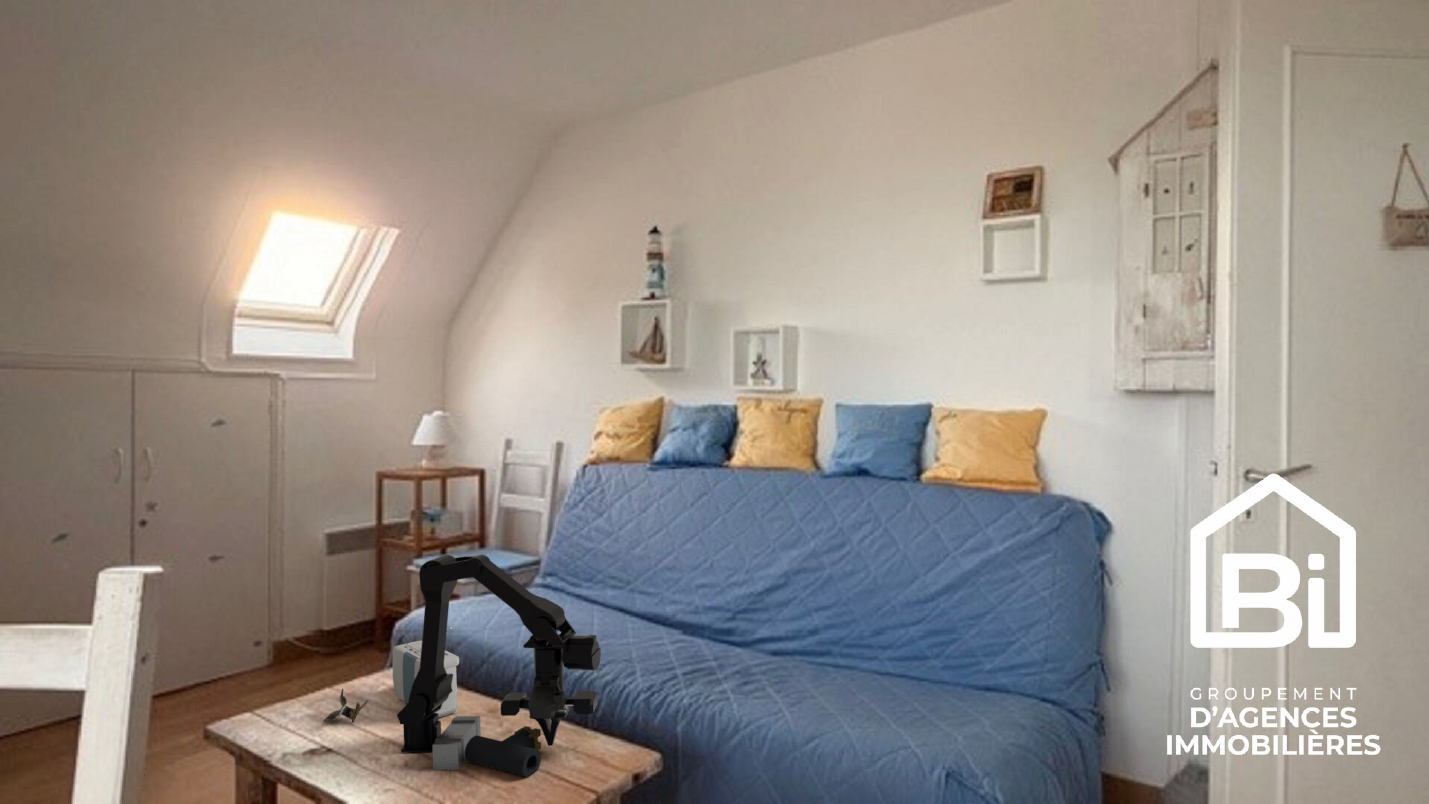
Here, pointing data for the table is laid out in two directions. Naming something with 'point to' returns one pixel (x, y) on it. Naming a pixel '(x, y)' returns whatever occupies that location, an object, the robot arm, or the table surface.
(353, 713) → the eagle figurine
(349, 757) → the table surface
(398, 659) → the stereo radio cassette player
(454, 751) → the grey stepped block
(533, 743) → the pipe connector
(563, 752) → the table surface
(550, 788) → the table surface
